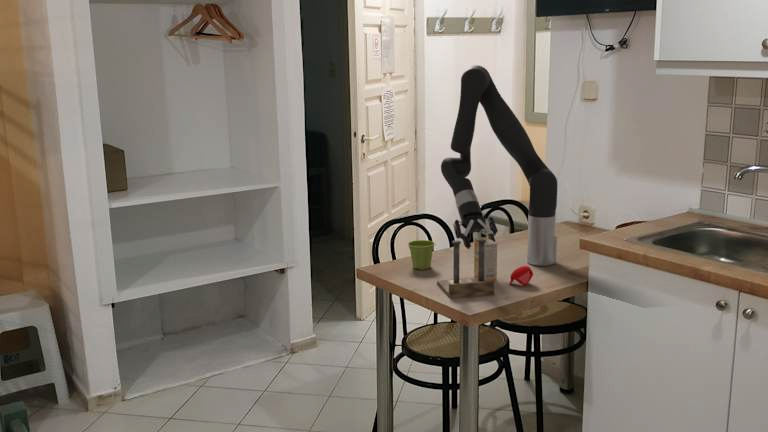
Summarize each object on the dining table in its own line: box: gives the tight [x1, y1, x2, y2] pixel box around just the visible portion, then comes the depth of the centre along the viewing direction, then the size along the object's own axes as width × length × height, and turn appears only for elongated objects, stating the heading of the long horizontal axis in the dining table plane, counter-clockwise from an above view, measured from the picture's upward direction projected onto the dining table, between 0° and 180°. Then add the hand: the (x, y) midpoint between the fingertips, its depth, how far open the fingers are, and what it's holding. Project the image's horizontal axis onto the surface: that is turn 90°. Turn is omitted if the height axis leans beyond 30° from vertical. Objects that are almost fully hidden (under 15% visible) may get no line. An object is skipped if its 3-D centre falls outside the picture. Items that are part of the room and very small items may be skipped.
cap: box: [509, 265, 534, 287], centre depth 241 cm, size 8×6×6 cm
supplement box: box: [473, 236, 498, 282], centre depth 247 cm, size 8×5×13 cm, turn 18°
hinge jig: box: [436, 239, 495, 299], centre depth 236 cm, size 14×15×17 cm
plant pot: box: [407, 239, 436, 271], centre depth 262 cm, size 9×9×9 cm
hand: (481, 246), depth 250 cm, fingers open, 8 cm apart
